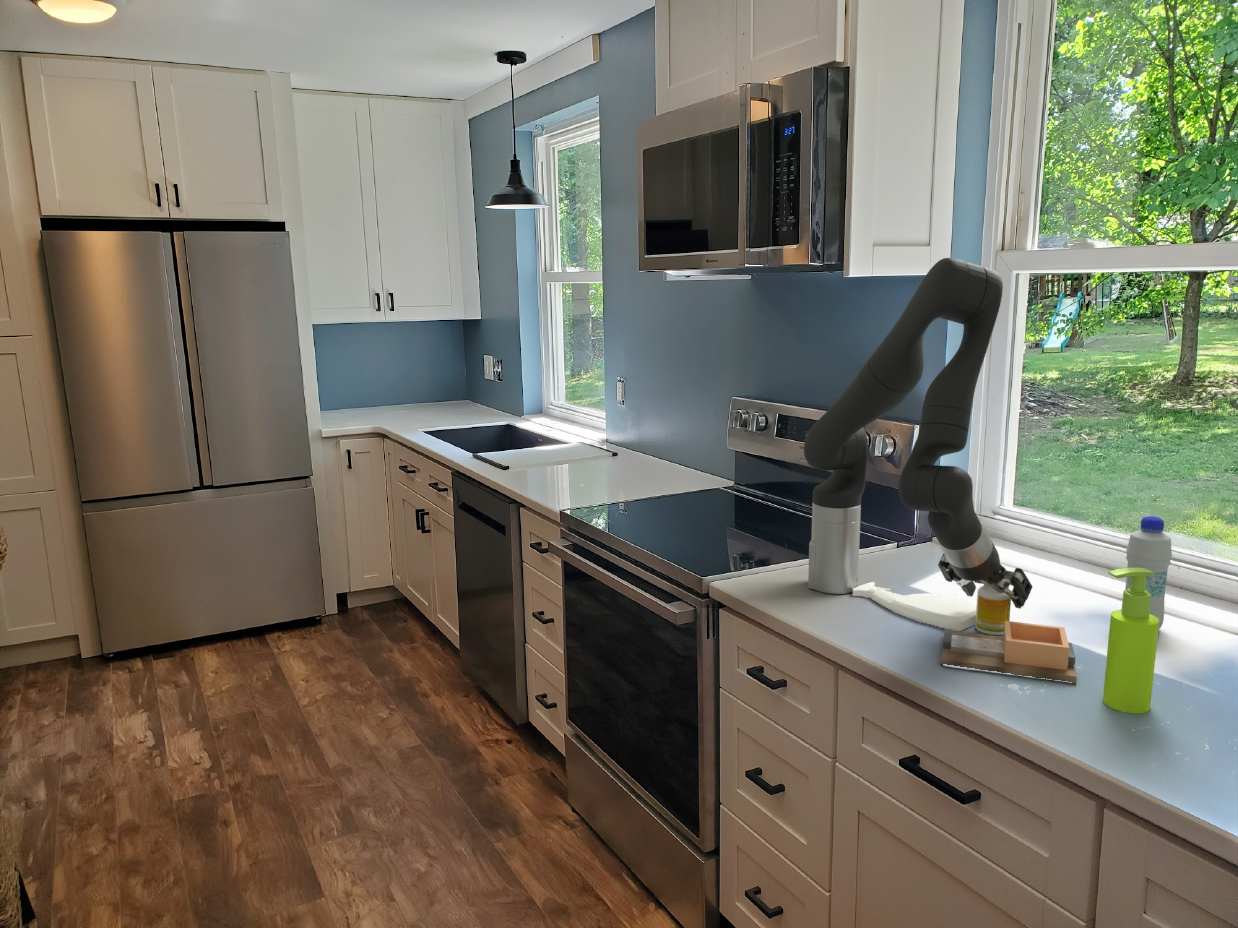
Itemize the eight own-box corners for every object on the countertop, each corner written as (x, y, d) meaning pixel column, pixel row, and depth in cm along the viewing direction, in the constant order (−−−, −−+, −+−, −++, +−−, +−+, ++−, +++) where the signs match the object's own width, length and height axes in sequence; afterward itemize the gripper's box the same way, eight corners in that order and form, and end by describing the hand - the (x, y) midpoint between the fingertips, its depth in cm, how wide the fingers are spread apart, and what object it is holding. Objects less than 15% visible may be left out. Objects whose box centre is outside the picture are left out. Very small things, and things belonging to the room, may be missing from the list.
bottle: (1158, 623, 157) (1170, 513, 153) (1168, 637, 151) (1180, 522, 147) (1115, 619, 159) (1126, 510, 155) (1123, 633, 153) (1134, 520, 149)
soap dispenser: (1087, 696, 130) (1099, 564, 126) (1132, 693, 131) (1145, 562, 127) (1112, 715, 124) (1125, 577, 120) (1159, 712, 125) (1174, 575, 121)
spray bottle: (955, 636, 154) (840, 601, 173) (989, 621, 161) (875, 588, 180) (956, 619, 154) (840, 586, 173) (990, 605, 160) (875, 574, 179)
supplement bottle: (1011, 636, 152) (1015, 582, 150) (978, 634, 153) (981, 580, 152) (1005, 625, 158) (1008, 572, 156) (972, 623, 159) (976, 570, 157)
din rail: (942, 650, 144) (943, 641, 144) (944, 637, 149) (944, 628, 149) (1074, 667, 137) (1075, 657, 137) (1071, 652, 142) (1071, 643, 142)
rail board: (941, 666, 141) (941, 659, 141) (944, 636, 153) (944, 630, 153) (1076, 684, 134) (1076, 676, 134) (1068, 651, 146) (1069, 644, 146)
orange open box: (1004, 662, 139) (1005, 640, 139) (1003, 641, 147) (1004, 620, 147) (1067, 669, 136) (1069, 647, 135) (1062, 648, 144) (1064, 627, 143)
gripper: (1020, 536, 141) (1045, 589, 151) (935, 520, 152) (964, 570, 161) (1002, 576, 139) (1029, 627, 148) (918, 557, 149) (948, 606, 159)
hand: (995, 597), depth 155 cm, fingers open, 8 cm apart
